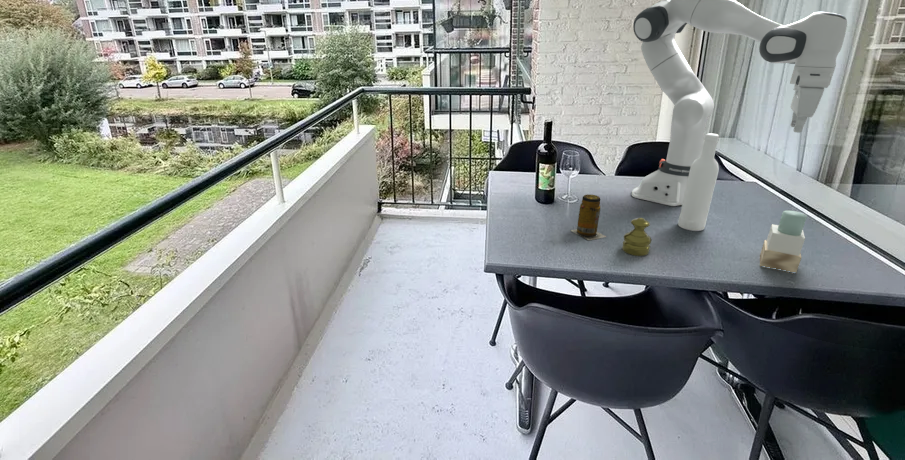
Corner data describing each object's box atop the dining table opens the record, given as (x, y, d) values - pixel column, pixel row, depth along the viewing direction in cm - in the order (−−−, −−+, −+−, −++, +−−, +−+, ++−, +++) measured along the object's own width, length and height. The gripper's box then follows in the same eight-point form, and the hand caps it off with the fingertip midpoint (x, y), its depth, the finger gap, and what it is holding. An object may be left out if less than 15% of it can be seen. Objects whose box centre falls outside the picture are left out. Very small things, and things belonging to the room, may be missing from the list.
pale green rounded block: (777, 232, 120) (783, 215, 118) (776, 226, 124) (782, 209, 122) (802, 237, 117) (808, 219, 115) (800, 230, 121) (806, 212, 119)
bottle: (704, 224, 150) (727, 133, 138) (704, 233, 144) (727, 138, 132) (678, 220, 154) (698, 130, 142) (676, 228, 147) (697, 135, 136)
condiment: (587, 227, 147) (592, 192, 143) (606, 237, 140) (612, 200, 136) (569, 231, 144) (574, 195, 140) (588, 241, 137) (593, 203, 133)
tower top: (767, 249, 122) (772, 232, 120) (766, 240, 127) (771, 224, 125) (799, 256, 118) (805, 238, 116) (797, 246, 124) (802, 229, 122)
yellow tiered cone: (653, 256, 128) (660, 223, 124) (628, 256, 128) (634, 223, 124) (641, 245, 135) (647, 213, 131) (617, 245, 134) (622, 214, 131)
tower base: (759, 266, 123) (764, 250, 121) (759, 255, 130) (764, 239, 128) (795, 274, 120) (801, 257, 118) (793, 262, 126) (799, 246, 124)
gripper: (793, 75, 133) (779, 123, 139) (800, 79, 117) (784, 134, 122) (820, 76, 130) (805, 125, 136) (831, 81, 114) (813, 136, 119)
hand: (795, 129), depth 129 cm, fingers open, 8 cm apart
